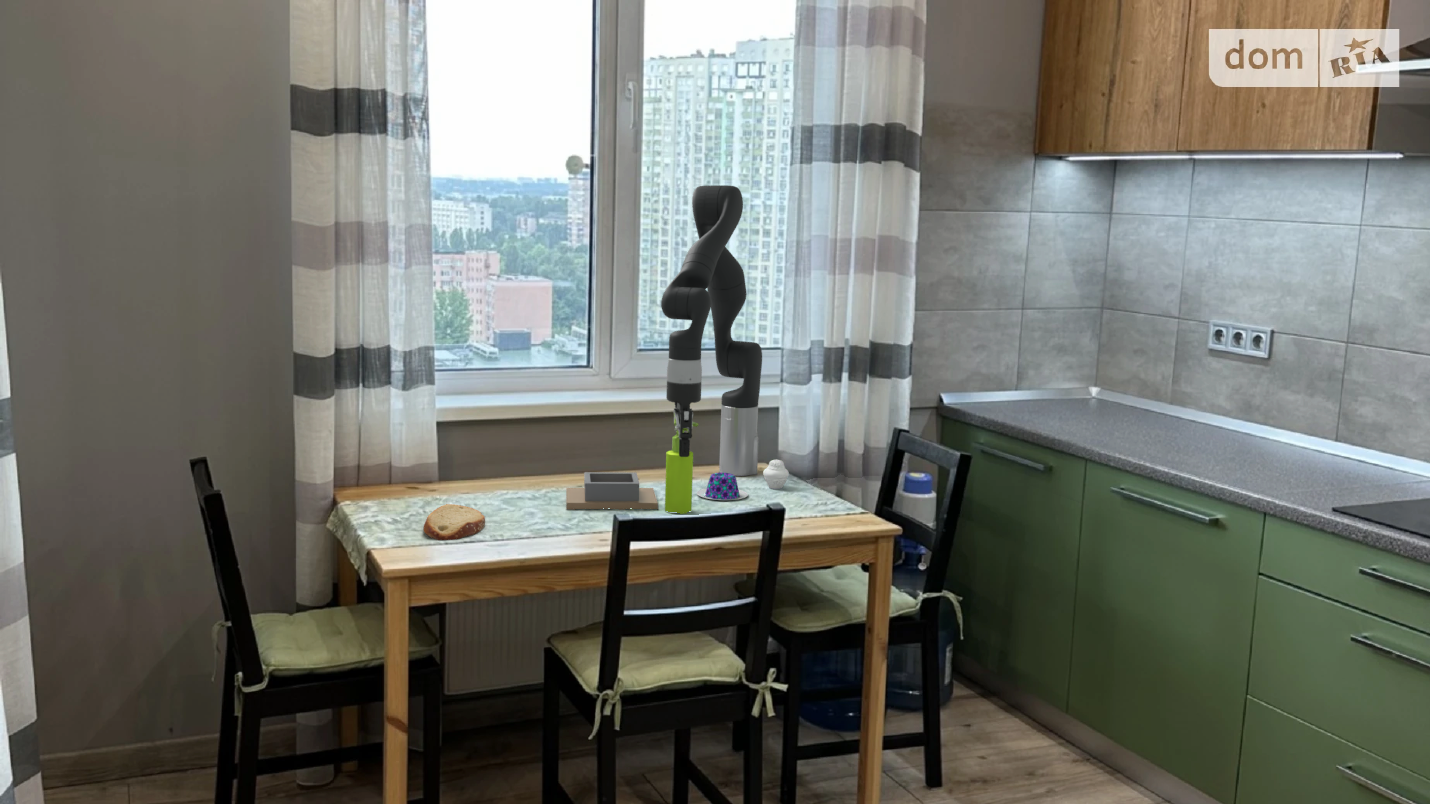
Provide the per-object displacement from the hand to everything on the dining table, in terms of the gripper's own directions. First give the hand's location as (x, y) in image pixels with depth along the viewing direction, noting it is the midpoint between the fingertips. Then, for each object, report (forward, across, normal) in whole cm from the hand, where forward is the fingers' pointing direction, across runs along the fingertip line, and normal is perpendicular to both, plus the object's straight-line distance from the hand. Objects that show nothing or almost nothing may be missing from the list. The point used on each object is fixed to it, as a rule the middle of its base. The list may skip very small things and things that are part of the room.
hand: (682, 452), depth 270 cm
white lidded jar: (+13, +22, -25) cm, 36 cm away
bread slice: (+14, -12, +49) cm, 52 cm away
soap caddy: (+13, +8, +15) cm, 21 cm away
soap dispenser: (+13, 0, 0) cm, 13 cm away
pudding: (+14, +14, -11) cm, 23 cm away
